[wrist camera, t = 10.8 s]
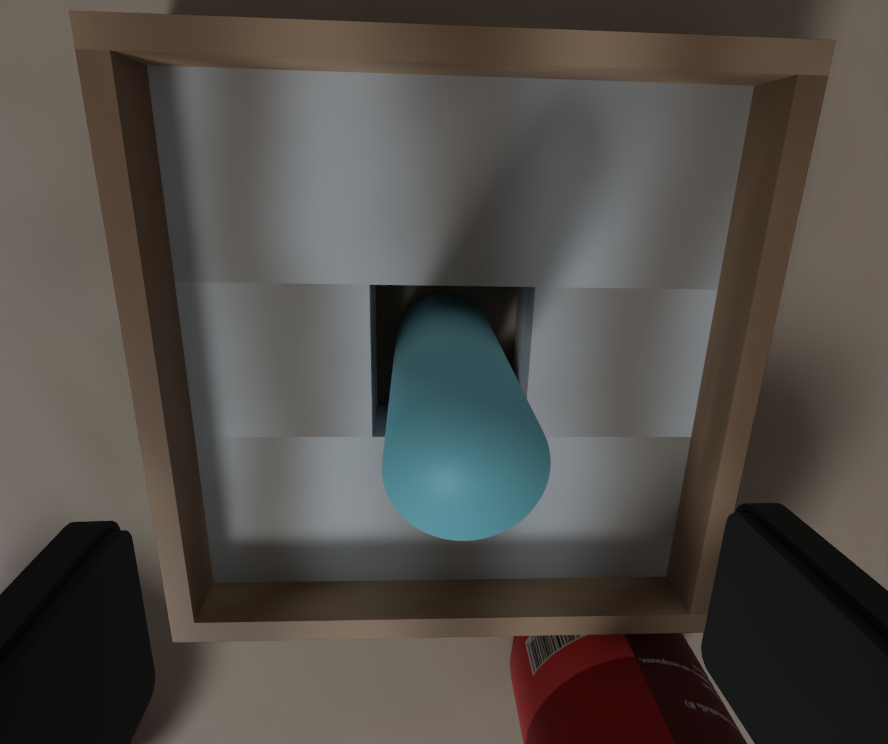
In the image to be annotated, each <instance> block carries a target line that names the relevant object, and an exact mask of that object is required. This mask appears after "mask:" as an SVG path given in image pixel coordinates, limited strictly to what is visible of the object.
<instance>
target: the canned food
mask: <svg viewBox="0 0 888 744" xmlns="http://www.w3.org/2000/svg"><path fill="white" fill-rule="evenodd" d="M510 671H511V679H512V684H513V689H514V695H515V700H516V705H517V711H518V716H519V721H520V727H521V732H522V738H523V743H524V744H747V743H746V741H745V739H744V738H743V736H742V734H741V733H740V731H739V729H738V728H737V726H736V724H735V722H734V721H733V719H732V717H731V716H730V714H729V712H728V711H727V709H726V707H725V705H724V704H723V702H722V700H721V699H720V697H719V695H718V694H717V692H716V690H715V689H714V687H713V685H712V683H711V682H710V680H709V678H708V677H707V675H706V673H705V672H704V670H703V668H702V666H701V665H700V663H699V661H698V660H697V658H696V656H695V655H694V653H693V651H692V649H691V648H690V646H689V644H688V643H687V641H686V639H685V638H684V636H683V634H682V633H649V634H596V635H542V636H514V639H513V645H512V651H511V658H510Z"/></svg>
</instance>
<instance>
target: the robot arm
mask: <svg viewBox="0 0 888 744" xmlns="http://www.w3.org/2000/svg"><path fill="white" fill-rule="evenodd" d="M701 651H702V657H703V661H704V664H705V667H706V668H707V670H708V672H709V674H710V675H711V677H712V678H713V680H714V681H715V683H716V684H717V686H718V687H719V689H720V691H721V692H722V694H723V695H724V697H725V698H726V700H727V701H728V703H729V704H730V706H731V708H732V709H733V711H734V712H735V714H736V715H737V717H738V718H739V720H740V721H741V723H742V725H743V726H744V728H745V729H746V731H747V732H748V734H749V735H750V737H751V738H752V740H753V741H754V743H755V744H888V591H887V590H886V589H885V588H884V587H882V586H881V585H880V584H879V583H877V582H876V581H875V580H874V579H873V578H871V577H870V576H869V575H868V574H867V573H865V572H864V571H863V570H862V569H860V568H859V567H858V566H857V565H856V564H854V563H853V562H852V561H851V560H849V559H848V558H847V557H846V556H845V555H843V554H842V553H841V552H840V551H839V550H837V549H836V548H835V547H834V546H832V545H831V544H830V543H829V542H828V541H826V540H825V539H824V538H823V537H822V536H820V535H819V534H818V533H817V532H815V531H814V530H813V529H812V528H811V527H809V526H808V525H807V524H806V523H804V522H803V521H802V520H801V519H800V518H798V517H797V516H796V515H795V514H794V513H792V512H791V511H790V510H789V509H787V508H786V507H785V506H783V505H782V504H780V503H750V504H742V505H740V506H739V507H738V508H737V509H736V511H735V513H732V514H730V515H729V516H728V518H727V521H726V524H725V529H724V534H723V539H722V544H721V549H720V554H719V559H718V564H717V569H716V574H715V579H714V584H713V589H712V594H711V599H710V604H709V609H708V614H707V619H706V624H705V629H704V634H703V639H702V645H701ZM154 683H155V669H154V664H153V658H152V652H151V646H150V640H149V634H148V628H147V622H146V616H145V611H144V605H143V599H142V593H141V587H140V581H139V575H138V569H137V563H136V558H135V552H134V546H133V540H132V536H131V534H130V533H129V532H128V531H126V530H123V531H121V530H120V527H119V526H118V524H117V523H116V522H114V521H89V522H72V523H69V524H68V525H67V526H65V527H64V528H63V529H62V530H61V531H60V533H59V534H58V535H57V536H56V537H55V538H54V539H53V540H52V541H51V542H50V543H49V544H48V545H47V546H46V547H45V548H44V549H43V550H42V551H41V552H40V554H39V555H38V556H37V557H36V558H35V559H34V560H33V561H32V562H31V563H30V564H29V565H28V566H27V567H26V568H25V569H24V570H23V571H22V572H21V573H20V575H19V576H18V577H17V578H16V579H15V580H14V581H13V582H12V583H11V584H10V585H9V586H8V587H7V588H6V589H5V590H4V591H3V592H2V593H1V595H0V744H130V742H131V740H132V738H133V736H134V734H135V732H136V729H137V727H138V725H139V723H140V721H141V719H142V717H143V714H144V712H145V710H146V708H147V706H148V704H149V702H150V699H151V696H152V693H153V689H154Z"/></svg>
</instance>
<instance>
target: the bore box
mask: <svg viewBox="0 0 888 744" xmlns="http://www.w3.org/2000/svg"><path fill="white" fill-rule="evenodd" d="M69 15H70V21H71V27H72V33H73V39H74V45H75V51H76V58H77V64H78V70H79V76H80V82H81V88H82V94H83V100H84V106H85V112H86V118H87V124H88V131H89V137H90V143H91V149H92V155H93V161H94V167H95V173H96V179H97V185H98V191H99V197H100V204H101V210H102V216H103V222H104V228H105V234H106V240H107V246H108V252H109V258H110V264H111V270H112V277H113V283H114V289H115V295H116V301H117V307H118V313H119V319H120V325H121V331H122V337H123V343H124V350H125V356H126V362H127V368H128V374H129V380H130V386H131V392H132V398H133V404H134V410H135V417H136V423H137V429H138V435H139V441H140V447H141V453H142V459H143V465H144V471H145V477H146V483H147V490H148V496H149V502H150V508H151V514H152V520H153V526H154V532H155V538H156V544H157V550H158V556H159V563H160V569H161V575H162V581H163V587H164V593H165V599H166V605H167V611H168V617H169V623H170V629H171V636H172V642H222V641H276V640H329V639H382V638H436V637H489V636H542V635H596V634H649V633H702V632H704V629H705V624H706V619H707V614H708V609H709V604H710V599H711V594H712V589H713V584H714V579H715V574H716V569H717V564H718V559H719V554H720V549H721V544H722V539H723V534H724V529H725V524H726V521H727V518H728V516H729V515H730V514H732V513H734V509H735V505H736V500H737V495H738V491H739V486H740V482H741V477H742V472H743V468H744V463H745V458H746V454H747V449H748V445H749V440H750V435H751V431H752V426H753V421H754V417H755V412H756V408H757V403H758V398H759V394H760V389H761V384H762V380H763V375H764V371H765V366H766V361H767V357H768V352H769V347H770V343H771V338H772V334H773V329H774V324H775V320H776V315H777V310H778V306H779V301H780V297H781V292H782V287H783V283H784V278H785V274H786V269H787V264H788V260H789V255H790V250H791V246H792V241H793V237H794V232H795V227H796V223H797V218H798V213H799V209H800V204H801V200H802V195H803V190H804V186H805V181H806V176H807V172H808V167H809V163H810V158H811V153H812V149H813V144H814V139H815V135H816V130H817V126H818V121H819V116H820V112H821V107H822V102H823V98H824V93H825V89H826V84H827V79H828V75H829V70H830V65H831V61H832V56H833V52H834V47H835V42H836V40H823V39H797V38H771V37H745V36H719V35H694V34H668V33H642V32H616V31H590V30H564V29H538V28H512V27H487V26H461V25H435V24H409V23H383V22H357V21H331V20H306V19H280V18H254V17H228V16H202V15H176V14H150V13H124V12H99V11H73V10H69ZM376 285H429V286H499V287H518V294H517V310H516V325H515V340H514V355H513V372H514V374H515V376H516V378H517V380H518V382H519V384H520V386H521V388H522V390H523V392H524V394H525V396H526V398H527V400H528V402H529V404H530V406H531V408H532V410H533V412H534V414H535V416H536V418H537V420H538V422H539V424H540V426H541V428H542V430H543V432H544V435H545V437H546V439H547V442H548V446H549V449H550V457H551V468H550V475H549V480H548V483H547V486H546V489H545V491H544V493H543V495H542V497H541V499H540V500H539V502H538V503H537V505H536V506H535V507H534V509H533V510H532V511H531V512H530V513H529V514H528V515H527V516H526V517H525V518H524V519H523V520H522V521H520V522H519V523H517V524H516V525H515V526H513V527H511V528H510V529H508V530H506V531H504V532H502V533H499V534H497V535H495V536H491V537H488V538H484V539H478V540H470V541H455V540H448V539H442V538H439V537H435V536H432V535H430V534H427V533H425V532H423V531H421V530H419V529H417V528H416V527H414V526H413V525H411V524H410V523H409V522H407V521H406V520H405V519H404V518H403V517H402V516H401V515H400V514H399V513H398V511H397V510H396V509H395V507H394V506H393V504H392V503H391V501H390V499H389V497H388V495H387V492H386V490H385V487H384V482H383V477H382V459H383V450H384V441H385V432H386V423H387V414H388V405H389V404H378V395H377V330H376Z"/></svg>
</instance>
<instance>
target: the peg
mask: <svg viewBox="0 0 888 744" xmlns="http://www.w3.org/2000/svg"><path fill="white" fill-rule="evenodd" d="M550 468H551V457H550V449H549V446H548V442H547V439H546V437H545V435H544V432H543V430H542V428H541V426H540V424H539V422H538V420H537V418H536V416H535V414H534V412H533V410H532V408H531V406H530V404H529V402H528V400H527V398H526V396H525V394H524V392H523V390H522V388H521V386H520V384H519V382H518V380H517V378H516V376H515V374H514V372H513V370H512V368H511V366H510V364H509V362H508V360H507V358H506V356H505V354H504V352H503V350H502V348H501V346H500V344H499V342H498V340H497V338H496V336H495V334H494V332H493V330H492V328H491V326H490V324H489V322H488V320H487V318H486V316H485V315H484V313H483V312H482V311H481V309H480V308H479V307H478V306H477V305H476V304H475V303H473V302H472V301H470V300H469V299H467V298H465V297H462V296H460V295H456V294H451V293H438V294H433V295H429V296H426V297H424V298H422V299H420V300H419V301H417V302H415V303H414V304H413V305H412V306H411V307H410V308H409V309H408V310H407V311H406V312H405V314H404V315H403V317H402V319H401V321H400V323H399V326H398V329H397V334H396V343H395V352H394V361H393V370H392V379H391V387H390V396H389V405H388V414H387V423H386V432H385V441H384V450H383V459H382V477H383V482H384V487H385V490H386V492H387V495H388V497H389V499H390V501H391V503H392V504H393V506H394V507H395V509H396V510H397V511H398V513H399V514H400V515H401V516H402V517H403V518H404V519H405V520H406V521H407V522H409V523H410V524H411V525H413V526H414V527H416V528H417V529H419V530H421V531H423V532H425V533H427V534H430V535H432V536H435V537H439V538H442V539H448V540H455V541H470V540H478V539H484V538H488V537H491V536H495V535H497V534H499V533H502V532H504V531H506V530H508V529H510V528H511V527H513V526H515V525H516V524H517V523H519V522H520V521H522V520H523V519H524V518H525V517H526V516H527V515H528V514H529V513H530V512H531V511H532V510H533V509H534V507H535V506H536V505H537V503H538V502H539V500H540V499H541V497H542V495H543V493H544V491H545V489H546V486H547V483H548V480H549V475H550Z"/></svg>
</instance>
